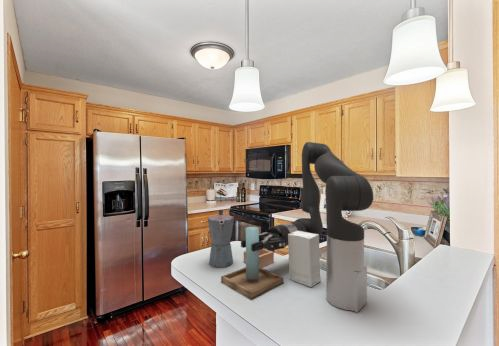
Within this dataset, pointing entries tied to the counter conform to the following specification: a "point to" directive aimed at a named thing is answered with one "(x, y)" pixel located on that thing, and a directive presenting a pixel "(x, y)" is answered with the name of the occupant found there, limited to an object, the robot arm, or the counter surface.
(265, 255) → the square terracotta collar
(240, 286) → the tray
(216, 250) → the moka pot
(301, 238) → the skincare box
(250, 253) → the dowel pin
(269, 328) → the counter surface
